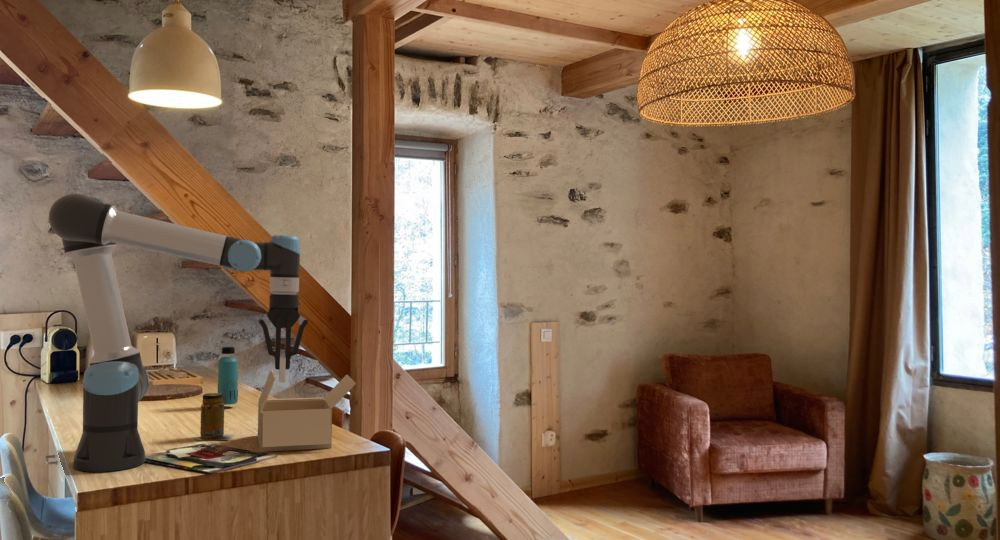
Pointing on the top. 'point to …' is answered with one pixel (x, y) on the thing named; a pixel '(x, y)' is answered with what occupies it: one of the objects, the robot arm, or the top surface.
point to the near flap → (296, 427)
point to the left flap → (266, 389)
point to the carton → (290, 406)
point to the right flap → (339, 391)
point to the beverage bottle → (228, 377)
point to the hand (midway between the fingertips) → (281, 381)
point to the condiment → (212, 418)
